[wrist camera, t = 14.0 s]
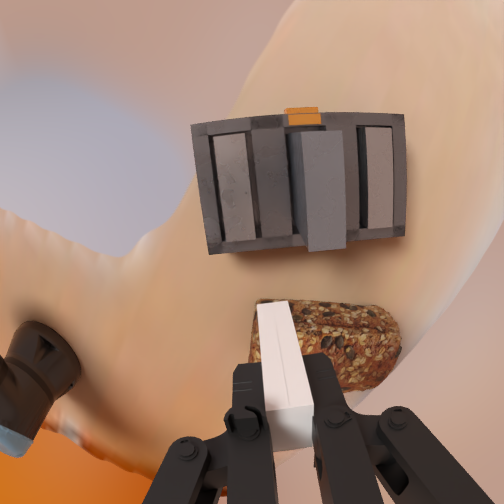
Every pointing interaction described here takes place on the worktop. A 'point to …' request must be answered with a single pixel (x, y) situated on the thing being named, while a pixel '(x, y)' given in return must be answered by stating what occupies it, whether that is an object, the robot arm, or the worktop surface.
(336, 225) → the block
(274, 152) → the rack
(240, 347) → the worktop surface
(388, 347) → the bread
